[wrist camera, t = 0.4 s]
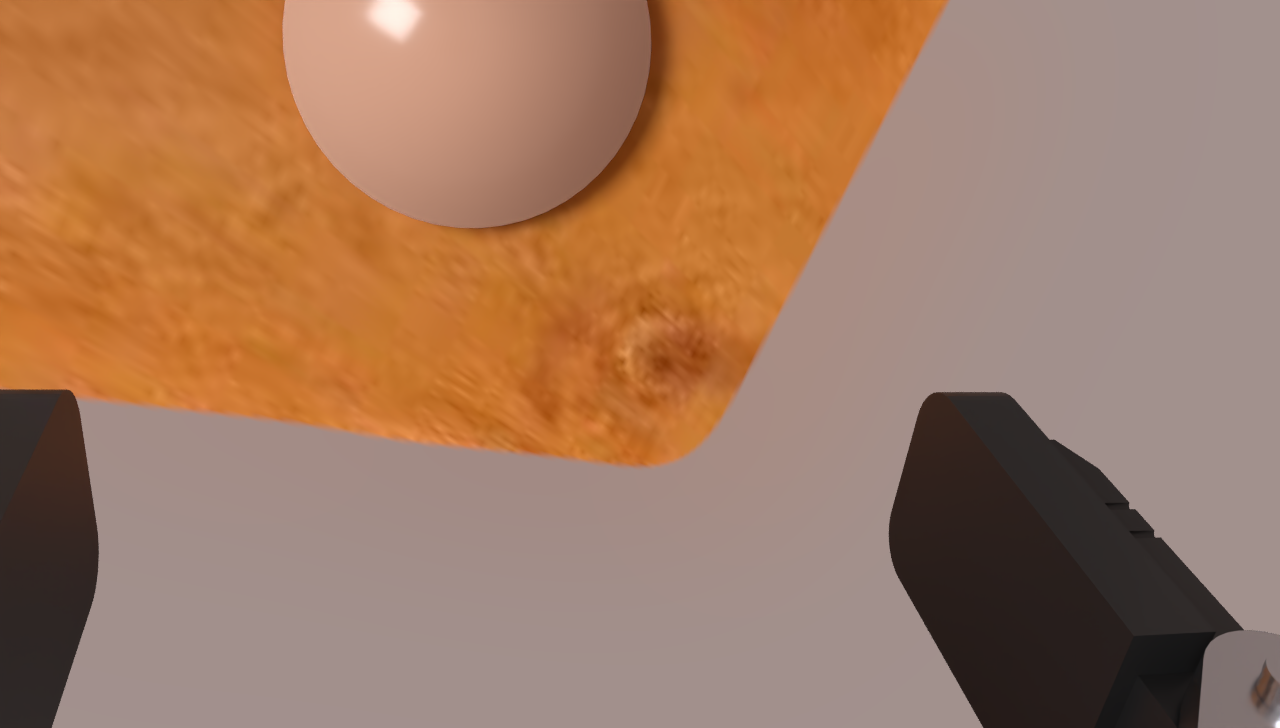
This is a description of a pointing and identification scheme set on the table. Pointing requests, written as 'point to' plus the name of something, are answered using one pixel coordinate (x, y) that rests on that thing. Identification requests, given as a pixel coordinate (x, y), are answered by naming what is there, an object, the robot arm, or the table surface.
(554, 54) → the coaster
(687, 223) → the table surface
